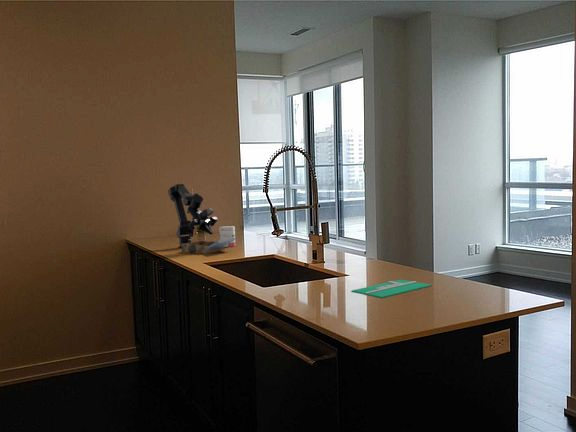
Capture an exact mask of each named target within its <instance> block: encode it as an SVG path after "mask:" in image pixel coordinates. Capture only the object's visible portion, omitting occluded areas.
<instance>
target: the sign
mask: <svg viewBox="0 0 576 432" xmlns="http://www.w3.org/2000/svg"><path fill="white" fill-rule="evenodd" d="M429 287H432V284H429V283H422V282H417V280H416V281H415V280H414V281H412V280H411V281H410V280H405V279H397V280H392V281H391V280H389V281H387V282H385V283H379V284H375V285H371V286H365V287H362V288H361V287H360V288H358V289H357V288H356V289H352V290H351V292H352V293H357V294H362V295H366V296H370V297H371V296H372V297H376V298H380V299H383V298H387V297H392V296H396V295H400V294H405V293H409V292H413V291H416V290H421V289H425V288H429Z"/></svg>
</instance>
